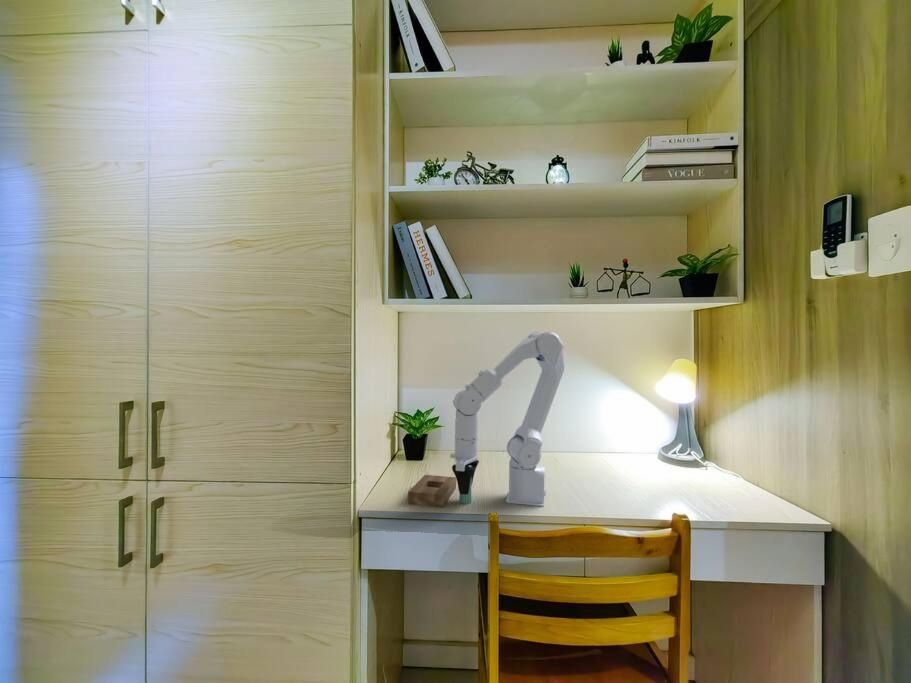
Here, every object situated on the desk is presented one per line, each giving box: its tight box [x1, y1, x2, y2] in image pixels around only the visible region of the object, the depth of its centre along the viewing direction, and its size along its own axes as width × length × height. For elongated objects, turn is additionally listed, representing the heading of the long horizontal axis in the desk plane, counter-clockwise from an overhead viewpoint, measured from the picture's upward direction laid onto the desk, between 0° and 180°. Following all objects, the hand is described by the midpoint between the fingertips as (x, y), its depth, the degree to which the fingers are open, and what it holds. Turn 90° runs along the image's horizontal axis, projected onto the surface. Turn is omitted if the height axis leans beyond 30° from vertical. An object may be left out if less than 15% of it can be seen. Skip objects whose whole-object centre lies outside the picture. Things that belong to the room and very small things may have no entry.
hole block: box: [407, 474, 457, 508], centre depth 111 cm, size 9×14×3 cm, turn 167°
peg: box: [458, 465, 472, 505], centre depth 107 cm, size 3×3×9 cm
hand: (465, 491), depth 107 cm, fingers closed on peg, 3 cm apart
